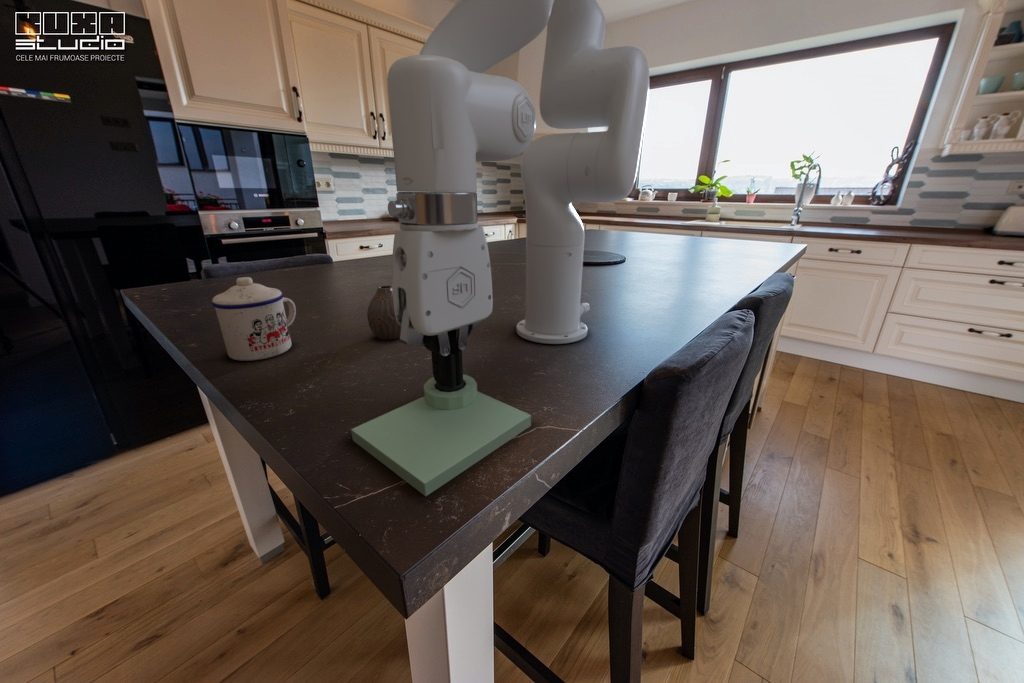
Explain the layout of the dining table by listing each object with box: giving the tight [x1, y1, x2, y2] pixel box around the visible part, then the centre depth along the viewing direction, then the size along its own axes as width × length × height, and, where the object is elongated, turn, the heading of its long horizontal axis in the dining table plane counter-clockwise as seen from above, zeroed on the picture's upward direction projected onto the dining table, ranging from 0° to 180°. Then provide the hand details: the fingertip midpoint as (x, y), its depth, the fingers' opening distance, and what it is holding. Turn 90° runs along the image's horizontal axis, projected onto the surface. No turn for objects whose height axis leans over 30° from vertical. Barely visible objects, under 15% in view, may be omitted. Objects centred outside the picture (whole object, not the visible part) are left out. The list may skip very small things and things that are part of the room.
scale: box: [350, 373, 532, 497], centre depth 41 cm, size 14×12×3 cm
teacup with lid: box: [211, 276, 297, 362], centre depth 62 cm, size 12×9×12 cm
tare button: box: [437, 382, 464, 392], centre depth 45 cm, size 3×3×2 cm
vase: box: [366, 284, 401, 341], centre depth 67 cm, size 7×7×9 cm
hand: (448, 382), depth 45 cm, fingers closed
